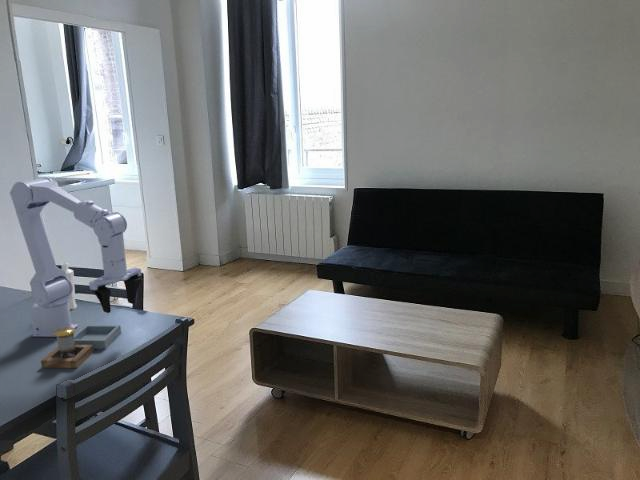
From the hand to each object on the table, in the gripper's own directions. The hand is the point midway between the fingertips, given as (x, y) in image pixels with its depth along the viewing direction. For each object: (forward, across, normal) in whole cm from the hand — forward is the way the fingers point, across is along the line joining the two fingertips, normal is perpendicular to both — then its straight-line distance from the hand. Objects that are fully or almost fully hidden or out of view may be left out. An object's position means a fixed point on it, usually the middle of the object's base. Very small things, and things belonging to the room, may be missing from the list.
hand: (119, 307), depth 143 cm
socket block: (+10, -14, +3) cm, 18 cm away
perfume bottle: (+10, +6, +36) cm, 38 cm away
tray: (+10, -4, +7) cm, 13 cm away
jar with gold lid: (+10, -14, +3) cm, 18 cm away
